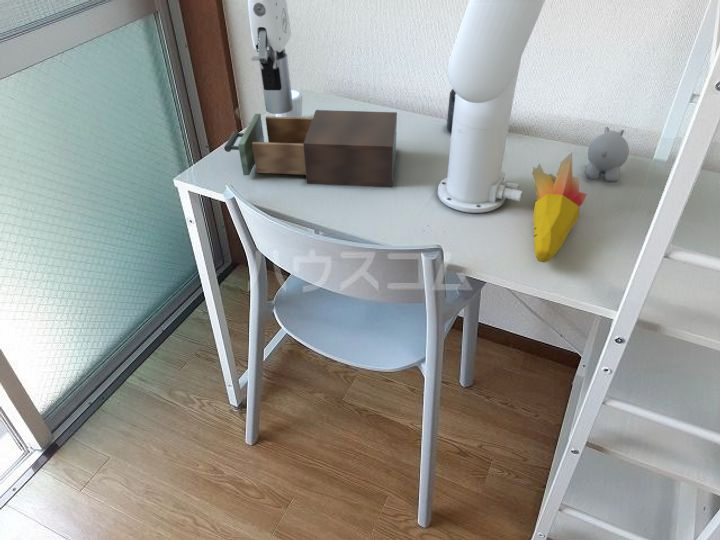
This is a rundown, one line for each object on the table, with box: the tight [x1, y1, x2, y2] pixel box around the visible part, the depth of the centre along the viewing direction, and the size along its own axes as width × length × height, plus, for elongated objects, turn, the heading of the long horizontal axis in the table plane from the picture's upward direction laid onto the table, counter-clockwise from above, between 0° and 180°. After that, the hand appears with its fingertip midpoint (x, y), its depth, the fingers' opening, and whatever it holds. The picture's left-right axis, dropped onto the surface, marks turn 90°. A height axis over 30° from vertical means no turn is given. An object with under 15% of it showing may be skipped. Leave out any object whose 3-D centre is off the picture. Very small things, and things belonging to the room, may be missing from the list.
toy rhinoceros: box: [584, 126, 630, 183], centre depth 112 cm, size 7×12×8 cm, turn 153°
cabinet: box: [303, 109, 398, 188], centre depth 114 cm, size 17×15×9 cm
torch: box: [531, 151, 588, 263], centre depth 97 cm, size 8×8×25 cm
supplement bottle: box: [446, 88, 456, 134], centre depth 125 cm, size 7×7×12 cm
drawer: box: [223, 113, 313, 176], centre depth 116 cm, size 20×13×7 cm
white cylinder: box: [274, 88, 303, 117], centre depth 130 cm, size 7×7×7 cm
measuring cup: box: [250, 51, 293, 115], centre depth 107 cm, size 6×5×10 cm
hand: (276, 82), depth 107 cm, fingers closed on measuring cup, 5 cm apart
